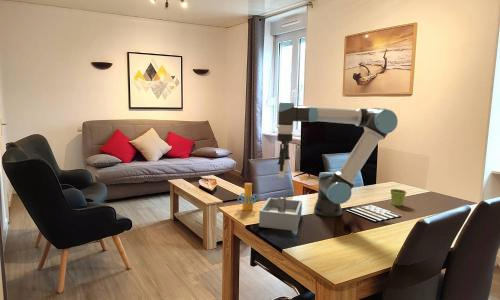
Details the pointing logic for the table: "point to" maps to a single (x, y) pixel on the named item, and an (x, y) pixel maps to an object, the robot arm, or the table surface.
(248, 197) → the yellow and blue post
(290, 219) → the box
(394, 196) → the plant pot
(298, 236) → the table surface
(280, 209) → the peg
